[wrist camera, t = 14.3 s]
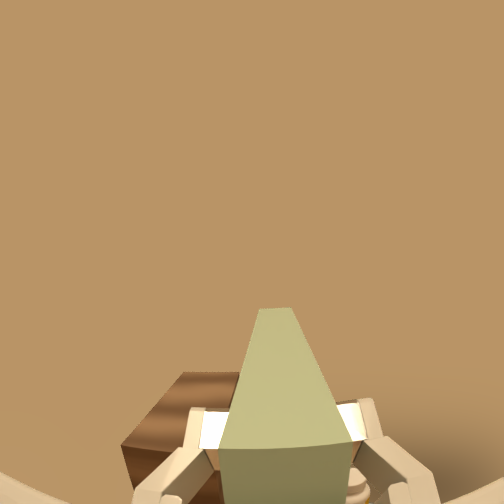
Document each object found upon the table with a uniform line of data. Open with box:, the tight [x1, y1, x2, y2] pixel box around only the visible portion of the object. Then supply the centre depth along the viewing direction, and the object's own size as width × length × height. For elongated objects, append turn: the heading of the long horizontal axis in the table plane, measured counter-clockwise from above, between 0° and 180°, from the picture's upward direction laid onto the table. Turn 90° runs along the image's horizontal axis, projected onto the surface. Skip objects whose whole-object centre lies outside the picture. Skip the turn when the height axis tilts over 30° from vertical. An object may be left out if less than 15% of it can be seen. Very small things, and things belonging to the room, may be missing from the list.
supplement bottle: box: [345, 468, 370, 504], centre depth 29 cm, size 5×5×10 cm
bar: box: [218, 307, 353, 504], centre depth 18 cm, size 24×3×3 cm, turn 177°
